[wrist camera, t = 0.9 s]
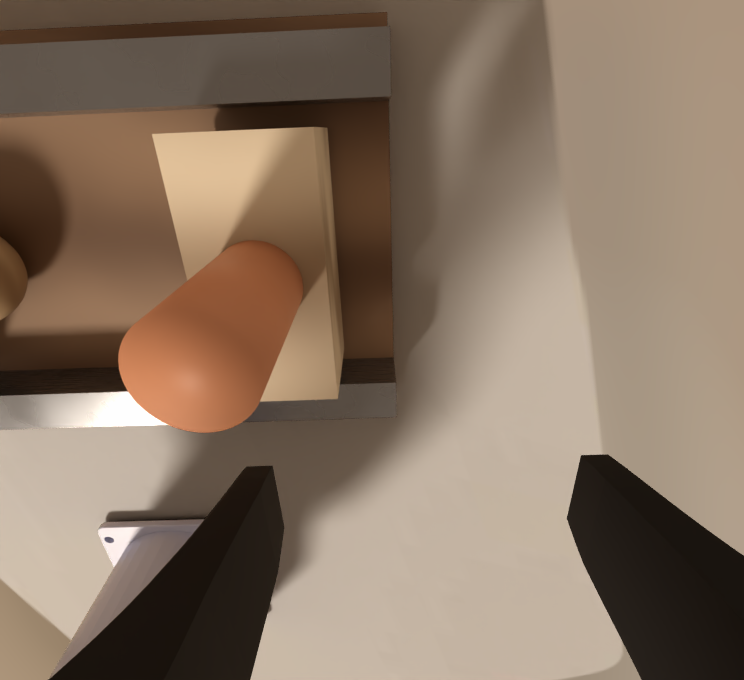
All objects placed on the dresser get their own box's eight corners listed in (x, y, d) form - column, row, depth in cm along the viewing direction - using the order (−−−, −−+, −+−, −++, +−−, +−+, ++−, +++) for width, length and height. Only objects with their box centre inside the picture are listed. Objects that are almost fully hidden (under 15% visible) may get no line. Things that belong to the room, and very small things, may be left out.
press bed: (393, 387, 20) (399, 466, 15) (-27, 401, 20) (-145, 483, 16) (385, 21, 14) (393, -35, 9) (-219, 50, 14) (-513, 10, 9)
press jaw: (344, 348, 17) (321, 526, 9) (246, 351, 17) (144, 531, 10) (327, 127, 14) (269, 124, 6) (203, 133, 14) (-13, 137, 6)
